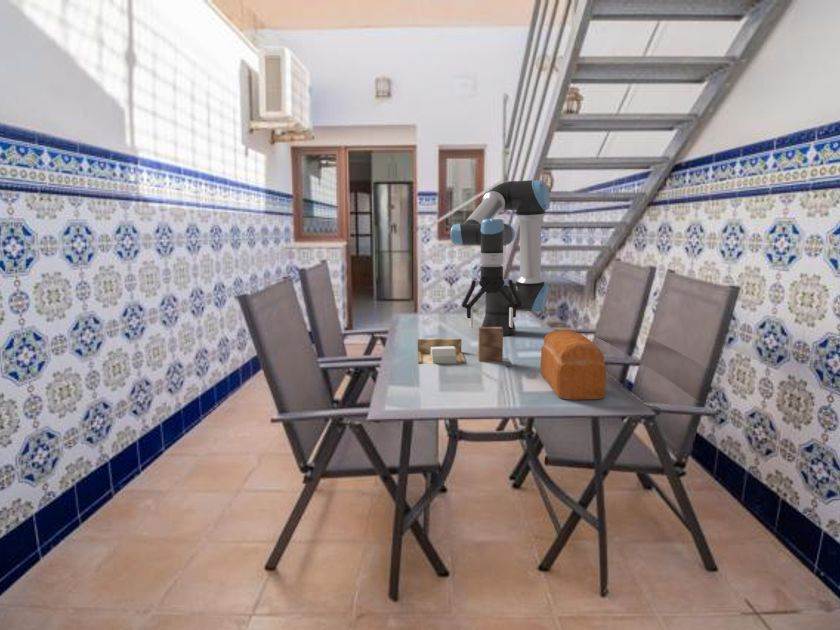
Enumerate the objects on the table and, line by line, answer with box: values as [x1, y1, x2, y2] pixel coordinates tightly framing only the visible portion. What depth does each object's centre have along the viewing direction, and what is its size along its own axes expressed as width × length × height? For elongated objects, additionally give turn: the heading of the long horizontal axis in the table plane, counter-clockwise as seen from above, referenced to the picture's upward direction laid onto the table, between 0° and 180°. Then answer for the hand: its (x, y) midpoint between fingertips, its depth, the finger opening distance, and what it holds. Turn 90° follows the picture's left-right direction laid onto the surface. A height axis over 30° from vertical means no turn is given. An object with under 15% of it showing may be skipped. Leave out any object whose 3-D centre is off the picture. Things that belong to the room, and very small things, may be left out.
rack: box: [417, 338, 466, 365], centre depth 189 cm, size 16×16×6 cm
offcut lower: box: [433, 353, 457, 364], centre depth 183 cm, size 8×4×2 cm, turn 91°
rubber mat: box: [501, 357, 514, 367], centre depth 186 cm, size 14×10×1 cm
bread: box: [540, 329, 607, 401], centre depth 158 cm, size 14×26×16 cm, turn 179°
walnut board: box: [477, 326, 504, 362], centre depth 185 cm, size 8×3×12 cm, turn 91°
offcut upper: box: [431, 346, 455, 356], centre depth 183 cm, size 8×4×2 cm, turn 97°
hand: (491, 327), depth 184 cm, fingers open, 13 cm apart
